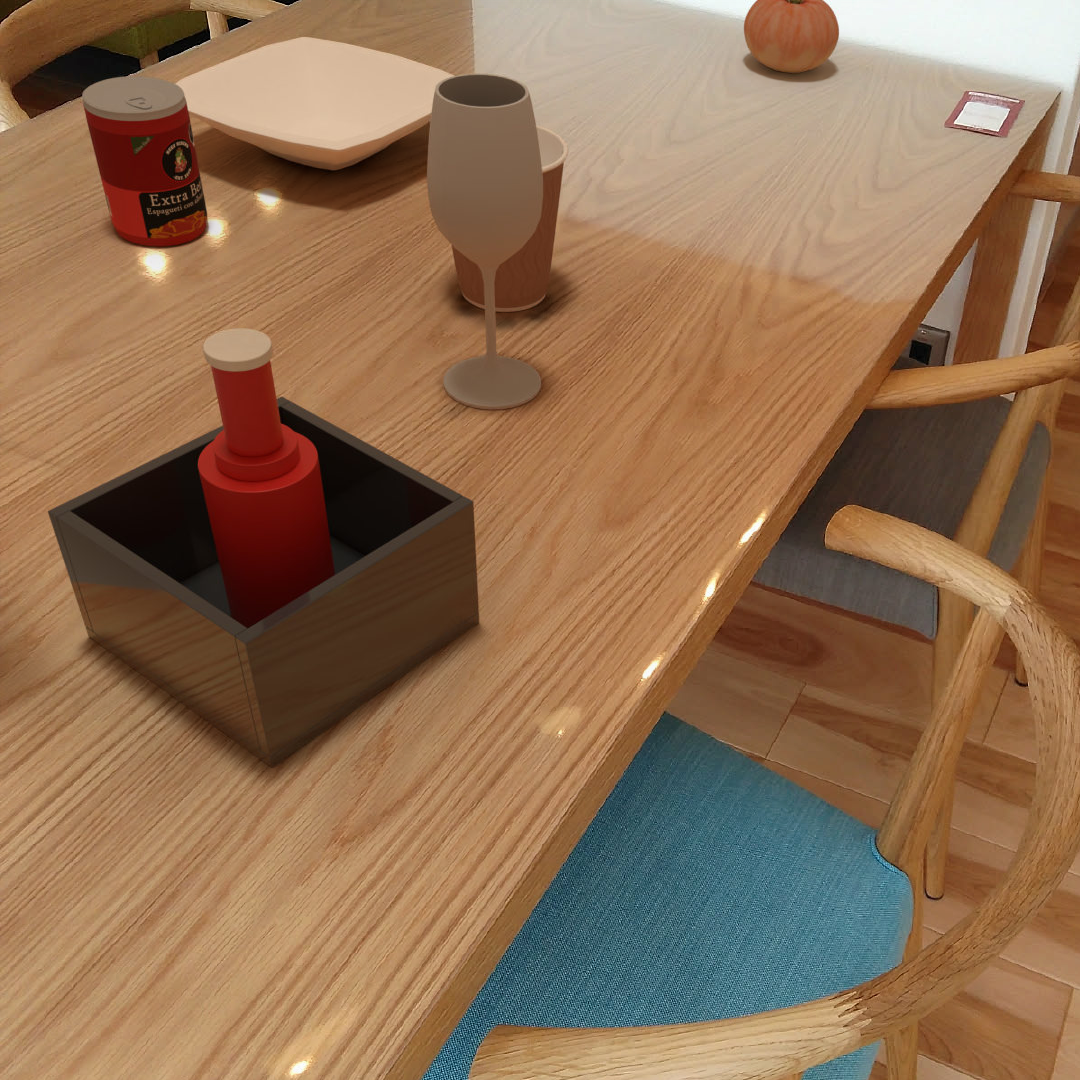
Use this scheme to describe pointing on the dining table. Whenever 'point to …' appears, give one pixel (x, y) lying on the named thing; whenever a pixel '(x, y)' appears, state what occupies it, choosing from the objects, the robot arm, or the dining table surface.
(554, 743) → the dining table surface
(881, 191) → the dining table surface
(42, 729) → the dining table surface
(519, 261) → the coffee cup
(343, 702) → the dark square storage bin
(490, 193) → the wineglass
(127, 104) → the canned food
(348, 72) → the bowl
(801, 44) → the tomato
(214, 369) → the bottle
